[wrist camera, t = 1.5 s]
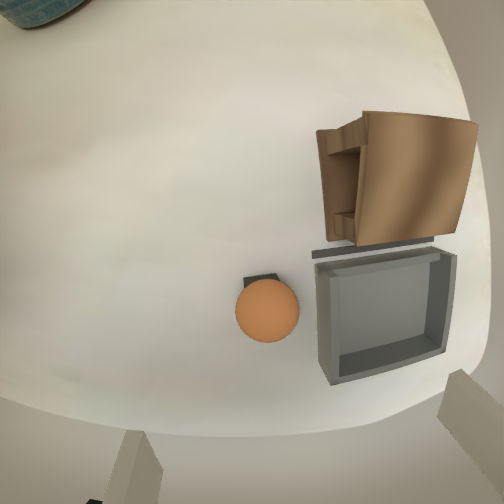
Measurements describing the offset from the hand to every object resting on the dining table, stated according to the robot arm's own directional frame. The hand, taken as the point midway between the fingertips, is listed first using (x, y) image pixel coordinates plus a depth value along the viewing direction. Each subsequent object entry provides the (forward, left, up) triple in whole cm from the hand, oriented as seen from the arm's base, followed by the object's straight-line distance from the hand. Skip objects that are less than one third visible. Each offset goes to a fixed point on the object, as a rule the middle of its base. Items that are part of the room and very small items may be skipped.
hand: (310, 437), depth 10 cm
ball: (0, 0, -14) cm, 14 cm away
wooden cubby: (+12, +9, -18) cm, 24 cm away
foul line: (+12, +3, -18) cm, 22 cm away
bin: (+12, -4, -18) cm, 22 cm away
